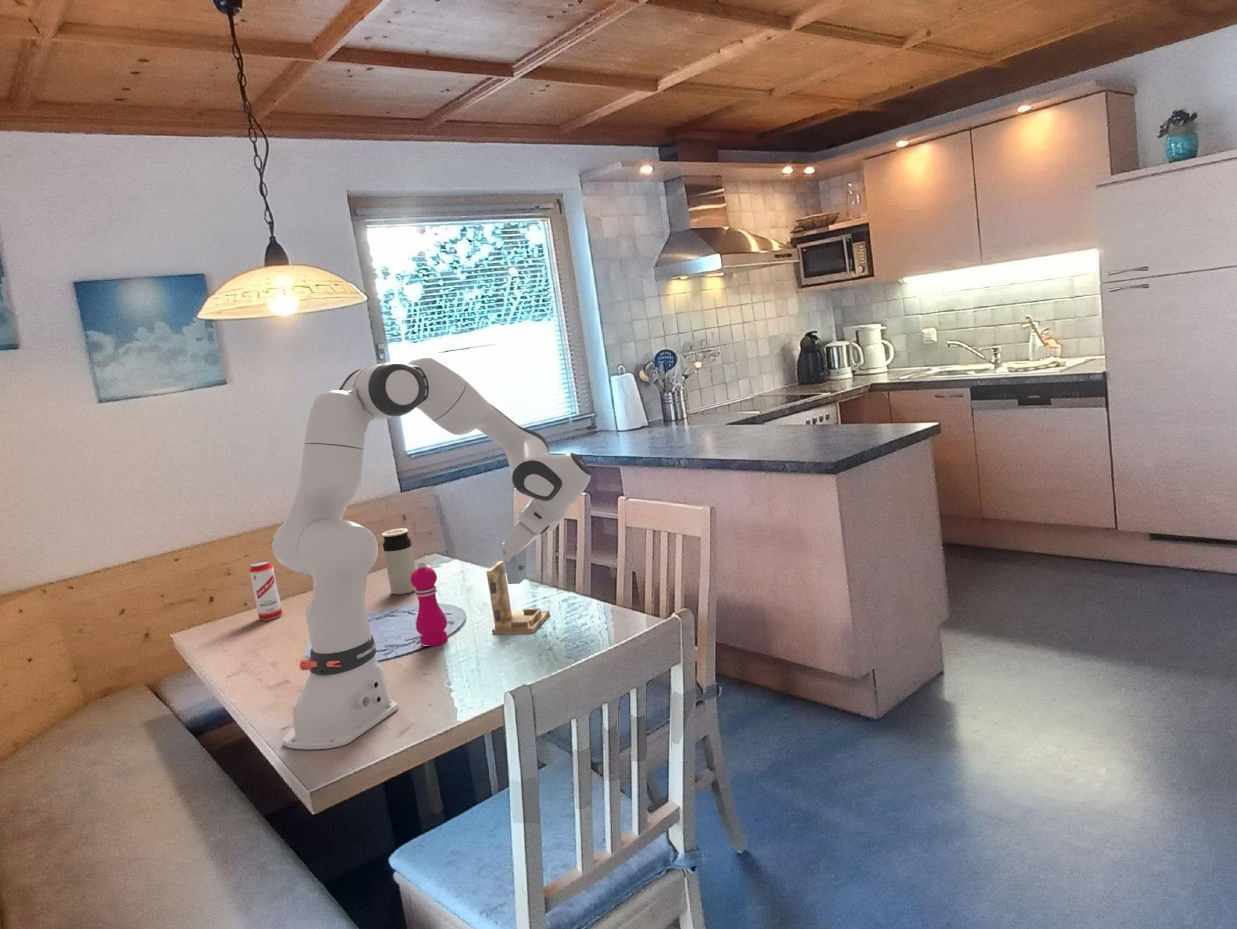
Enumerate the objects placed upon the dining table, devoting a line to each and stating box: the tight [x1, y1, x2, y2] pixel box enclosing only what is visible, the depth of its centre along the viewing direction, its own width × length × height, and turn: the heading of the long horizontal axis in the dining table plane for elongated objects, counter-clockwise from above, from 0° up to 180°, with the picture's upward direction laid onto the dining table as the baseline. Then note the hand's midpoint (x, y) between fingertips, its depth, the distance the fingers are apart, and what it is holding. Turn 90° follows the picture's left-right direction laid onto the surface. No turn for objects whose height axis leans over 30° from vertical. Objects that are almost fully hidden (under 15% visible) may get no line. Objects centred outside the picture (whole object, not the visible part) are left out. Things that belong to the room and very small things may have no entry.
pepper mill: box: [411, 560, 448, 647], centre depth 196 cm, size 7×7×20 cm
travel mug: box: [381, 527, 417, 596], centre depth 243 cm, size 8×8×18 cm
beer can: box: [249, 560, 283, 622], centre depth 234 cm, size 6×6×16 cm
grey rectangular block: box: [501, 542, 528, 585], centre depth 200 cm, size 5×4×10 cm
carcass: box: [486, 560, 550, 635], centre depth 201 cm, size 12×10×15 cm
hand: (510, 555), depth 200 cm, fingers closed on grey rectangular block, 5 cm apart
